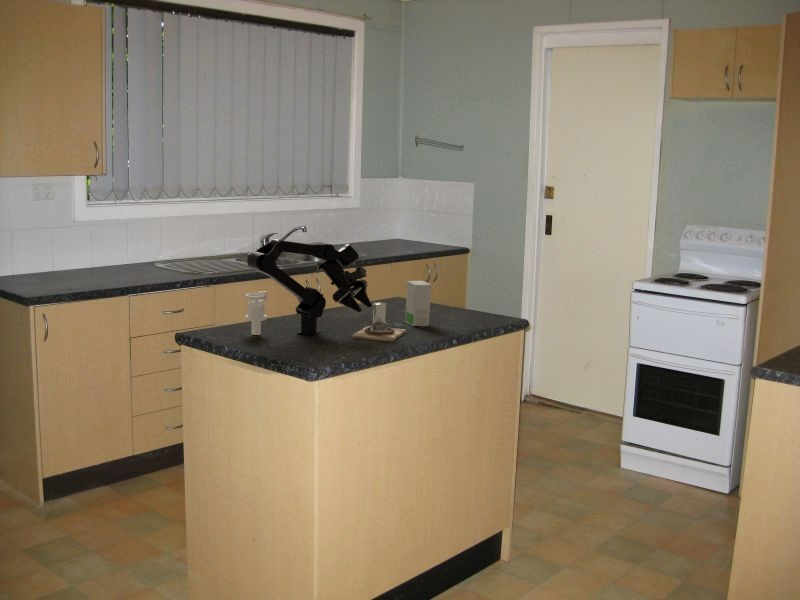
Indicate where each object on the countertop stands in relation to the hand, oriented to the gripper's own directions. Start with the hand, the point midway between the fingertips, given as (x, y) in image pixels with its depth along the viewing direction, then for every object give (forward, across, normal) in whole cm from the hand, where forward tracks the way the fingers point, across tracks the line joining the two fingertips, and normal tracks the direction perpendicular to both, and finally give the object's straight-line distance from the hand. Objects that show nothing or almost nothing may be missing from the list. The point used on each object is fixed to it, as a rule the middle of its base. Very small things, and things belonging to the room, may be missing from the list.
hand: (365, 309), depth 308 cm
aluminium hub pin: (+9, +1, +2) cm, 9 cm away
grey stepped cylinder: (-16, -18, +29) cm, 38 cm away
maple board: (+10, +1, +3) cm, 10 cm away
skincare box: (+14, +23, -2) cm, 27 cm away
